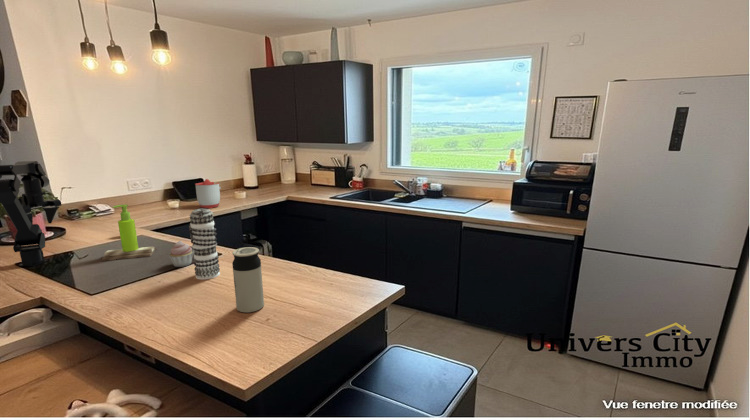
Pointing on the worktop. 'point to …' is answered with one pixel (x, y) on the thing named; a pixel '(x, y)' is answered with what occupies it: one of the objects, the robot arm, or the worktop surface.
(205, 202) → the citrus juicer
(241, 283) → the travel mug
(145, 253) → the bar
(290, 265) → the worktop surface
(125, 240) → the soap dispenser
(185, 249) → the cupcake
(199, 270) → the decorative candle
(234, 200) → the worktop surface
